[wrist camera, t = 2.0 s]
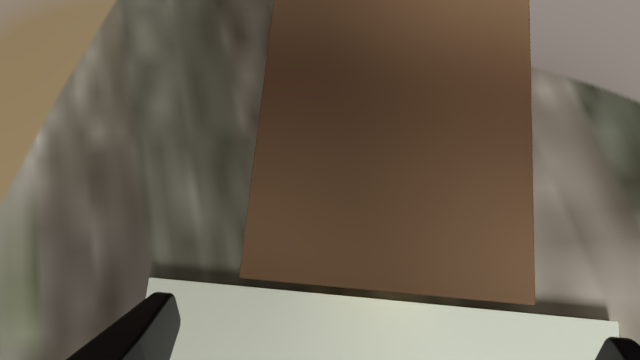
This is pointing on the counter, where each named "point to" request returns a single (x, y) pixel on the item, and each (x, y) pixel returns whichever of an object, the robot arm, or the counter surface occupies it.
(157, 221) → the counter surface
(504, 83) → the birch block
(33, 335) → the counter surface
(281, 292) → the sage mat
